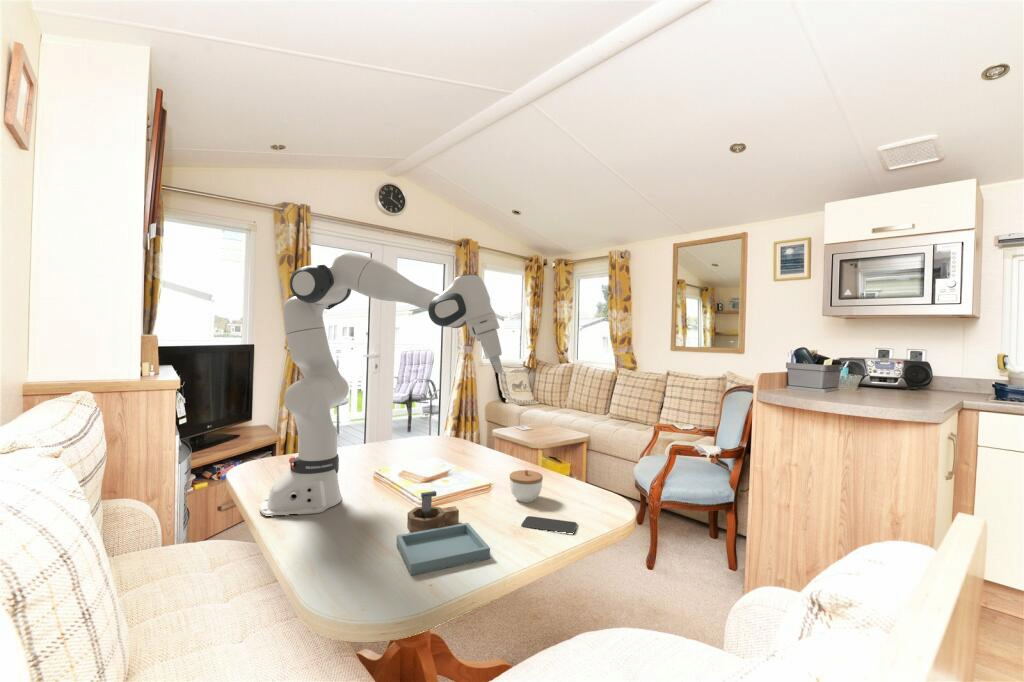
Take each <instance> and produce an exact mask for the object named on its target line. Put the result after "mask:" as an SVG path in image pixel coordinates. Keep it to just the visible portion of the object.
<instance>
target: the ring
mask: <svg viewBox="0 0 1024 682" xmlns="http://www.w3.org/2000/svg"><path fill="white" fill-rule="evenodd" d="M459 512H460V509H459V508H457V506H456V505H455V506H453V505H452V506H447V507H439V506H433V505H431V518H427V519H423V518H422V506H417V507H414V508H412V509H411V510H410V511H409V512H407V520H406V521H407V524H406V525H407V527H406V528H407V529H408V531H409V533H413V532H419V531H425V530H430V529H436V528H442V527H447V526H453V525H459V524H460V522H459V521H460V519H459V517H460V513H459Z"/></svg>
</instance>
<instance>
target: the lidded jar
mask: <svg viewBox="0 0 1024 682" xmlns="http://www.w3.org/2000/svg"><path fill="white" fill-rule="evenodd" d="M543 478H544V477H543V474H542V473H541V472H537V471H535V470H528V469H519V470H515V471H512V472H511V473H509V488H510V491H511V494H512V495H513V497H514V498H515V499H516V501H518V502H521V503H533V502H534V501H535V499H537V498H538V497H539V495H540V494H541V492H542V488H543Z"/></svg>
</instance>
